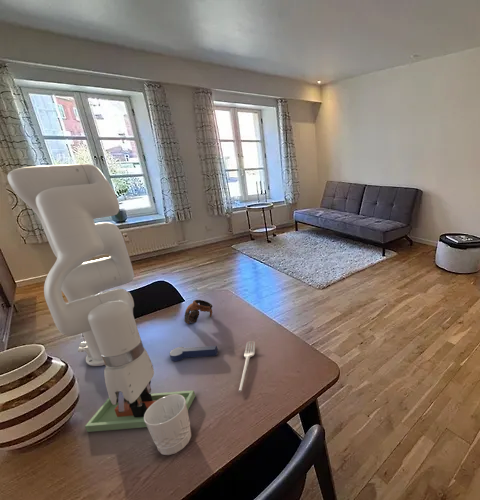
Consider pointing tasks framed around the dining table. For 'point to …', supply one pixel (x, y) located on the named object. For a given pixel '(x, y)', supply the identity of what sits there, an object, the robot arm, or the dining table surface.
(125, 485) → the dining table surface
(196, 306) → the orange headphones
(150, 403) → the terracotta spoon
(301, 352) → the dining table surface
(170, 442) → the white cup
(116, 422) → the tray
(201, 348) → the blue spoon
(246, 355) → the fork
